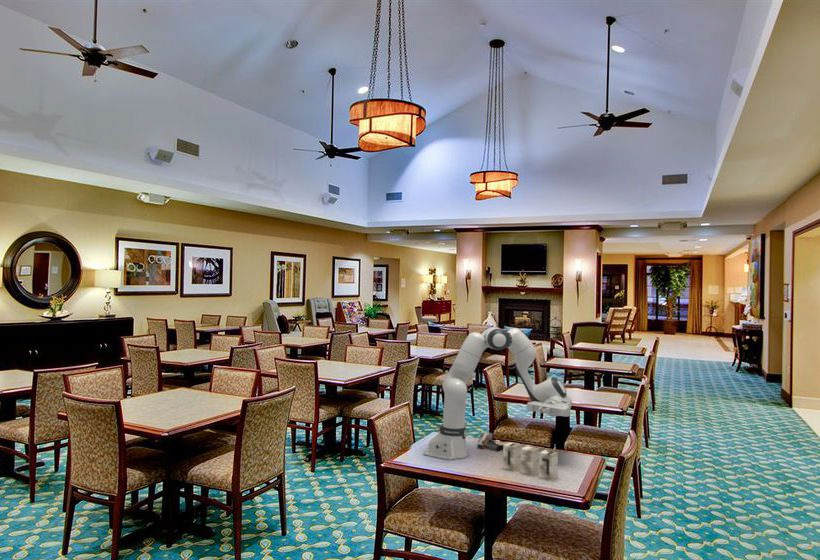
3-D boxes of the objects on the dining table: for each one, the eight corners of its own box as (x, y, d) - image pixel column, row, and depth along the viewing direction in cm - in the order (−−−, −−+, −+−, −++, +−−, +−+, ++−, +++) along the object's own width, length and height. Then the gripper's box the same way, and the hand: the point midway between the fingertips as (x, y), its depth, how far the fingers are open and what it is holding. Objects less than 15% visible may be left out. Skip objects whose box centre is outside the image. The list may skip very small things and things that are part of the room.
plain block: (520, 473, 234) (520, 448, 235) (526, 469, 239) (526, 446, 239) (532, 476, 230) (533, 451, 231) (538, 472, 235) (538, 448, 235)
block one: (503, 468, 240) (503, 444, 240) (509, 465, 245) (509, 442, 245) (514, 471, 236) (514, 447, 236) (521, 468, 241) (521, 444, 241)
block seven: (539, 477, 228) (539, 452, 229) (545, 474, 233) (545, 449, 234) (551, 481, 225) (552, 455, 225) (557, 477, 229) (557, 452, 230)
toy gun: (504, 453, 266) (475, 450, 269) (508, 438, 293) (481, 436, 297) (504, 447, 266) (475, 444, 270) (508, 433, 293) (481, 431, 297)
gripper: (533, 397, 262) (521, 401, 252) (573, 403, 249) (561, 407, 239) (533, 409, 262) (521, 414, 251) (572, 416, 249) (561, 421, 238)
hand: (541, 411), depth 245 cm, fingers closed
